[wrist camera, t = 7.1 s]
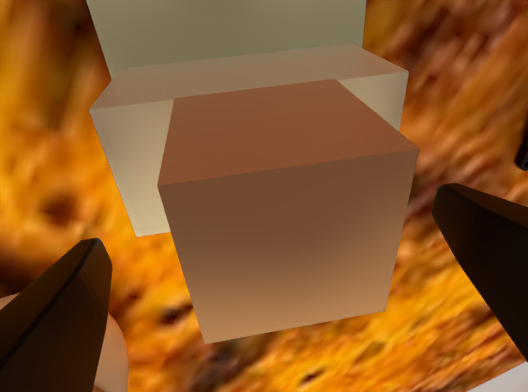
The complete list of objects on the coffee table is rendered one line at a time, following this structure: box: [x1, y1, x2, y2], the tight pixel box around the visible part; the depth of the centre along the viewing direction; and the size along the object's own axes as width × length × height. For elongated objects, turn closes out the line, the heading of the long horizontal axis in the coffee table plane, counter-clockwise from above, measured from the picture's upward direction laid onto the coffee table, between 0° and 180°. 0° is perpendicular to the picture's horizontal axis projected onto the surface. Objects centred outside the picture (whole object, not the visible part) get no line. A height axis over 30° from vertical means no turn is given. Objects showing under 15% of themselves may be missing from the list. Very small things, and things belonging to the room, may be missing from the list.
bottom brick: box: [89, 43, 409, 237], centre depth 14 cm, size 10×5×5 cm, turn 94°
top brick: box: [157, 79, 419, 344], centre depth 10 cm, size 5×5×5 cm
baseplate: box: [86, 0, 366, 79], centre depth 16 cm, size 11×11×1 cm
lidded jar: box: [0, 293, 129, 392], centre depth 19 cm, size 11×11×9 cm
